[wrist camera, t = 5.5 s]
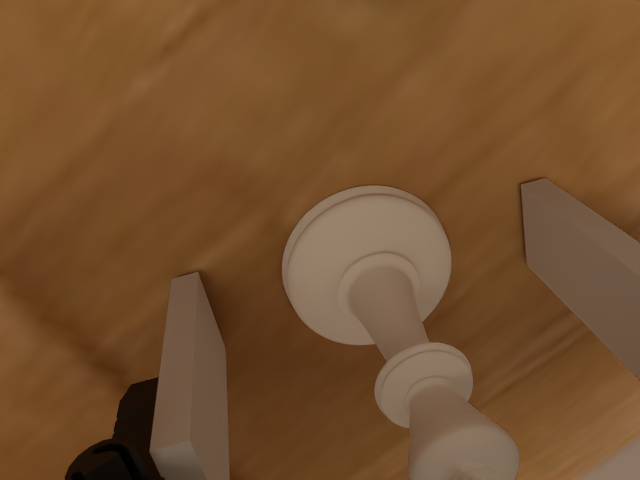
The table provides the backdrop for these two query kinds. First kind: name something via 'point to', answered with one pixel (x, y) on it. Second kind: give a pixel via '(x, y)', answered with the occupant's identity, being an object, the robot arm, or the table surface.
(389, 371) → the chess piece
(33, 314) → the table surface
